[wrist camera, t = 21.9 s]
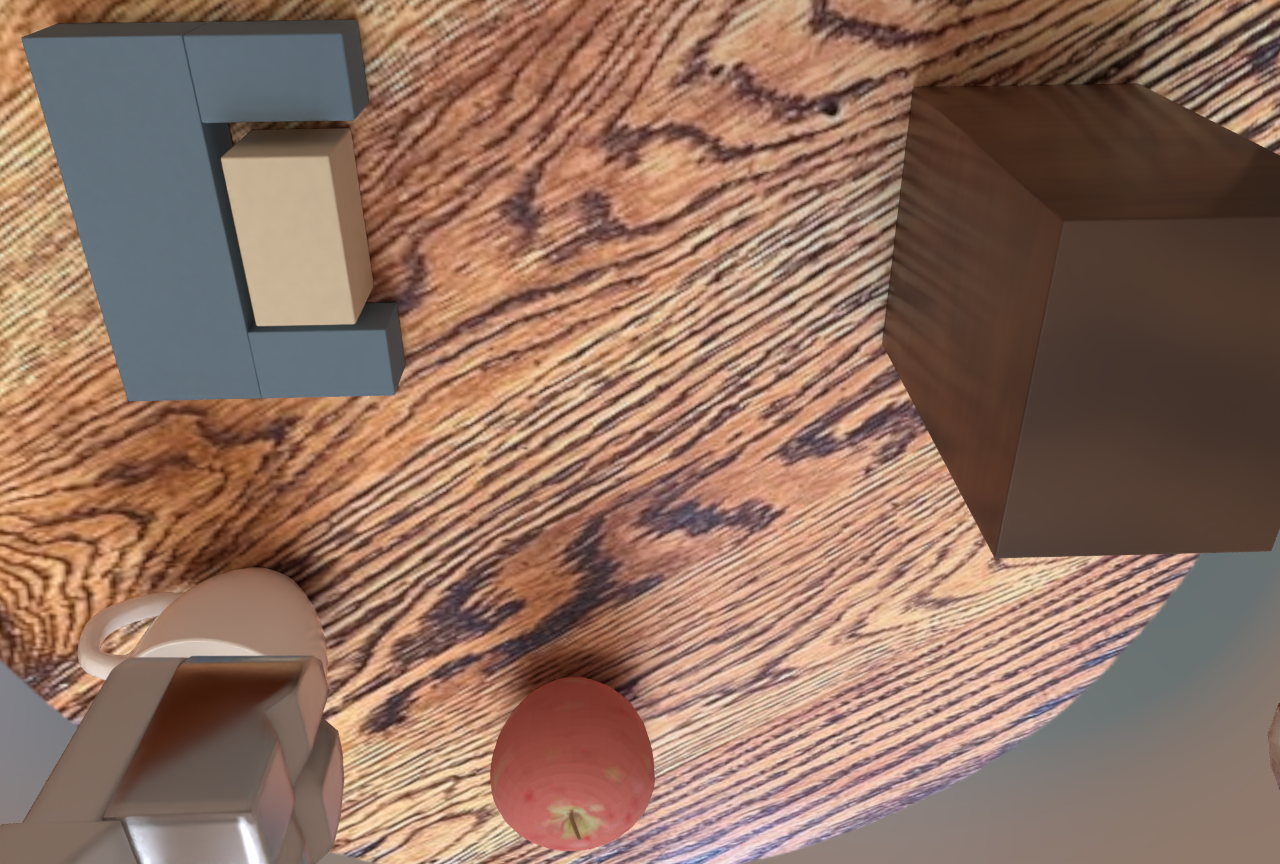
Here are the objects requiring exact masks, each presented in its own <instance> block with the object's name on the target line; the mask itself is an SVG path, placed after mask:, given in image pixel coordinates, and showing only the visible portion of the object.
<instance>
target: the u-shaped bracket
mask: <svg viewBox="0 0 1280 864" xmlns="http://www.w3.org/2000/svg"><path fill="white" fill-rule="evenodd" d="M22 43H23V46H24V49H25V53H26V56H27V60H28V63H29V66H30V70H31V73H32V76H33V80H34V83H35V87H36V90H37V93H38V97H39V100H40V104H41V107H42V110H43V114H44V117H45V121H46V124H47V127H48V131H49V134H50V138H51V141H52V144H53V148H54V151H55V155H56V158H57V161H58V165H59V168H60V172H61V175H62V178H63V182H64V185H65V189H66V192H67V195H68V199H69V202H70V206H71V209H72V212H73V216H74V219H75V223H76V226H77V229H78V233H79V236H80V240H81V243H82V246H83V250H84V253H85V257H86V260H87V263H88V267H89V270H90V274H91V277H92V280H93V284H94V287H95V291H96V294H97V297H98V301H99V304H100V308H101V311H102V314H103V318H104V321H105V325H106V328H107V331H108V335H109V338H110V342H111V345H112V348H113V352H114V355H115V358H116V362H117V365H118V369H119V372H120V375H121V379H122V382H123V386H124V389H125V392H126V396H127V399H128V401H158V400H203V399H249V398H294V397H339V396H385V395H395V393H396V390H397V387H398V384H399V382H400V379H401V376H402V373H403V371H404V368H405V359H404V351H403V344H402V337H401V330H400V322H399V315H398V308H397V303H365V305H364V307H363V309H362V311H361V313H360V315H359V317H358V319H357V321H356V323H355V324H336V325H287V326H257V325H256V322H255V317H254V312H253V308H252V303H251V298H250V294H249V289H248V284H247V280H246V275H245V270H244V266H243V261H242V256H241V252H240V247H239V242H238V237H237V233H236V228H235V223H234V219H233V214H232V209H231V205H230V200H229V195H228V191H227V186H226V181H225V177H224V172H223V167H222V163H221V157H222V156H223V155H224V154H226V153H227V152H228V151H229V150H230V149H231V148H232V147H233V144H232V140H231V135H230V130H229V125H228V123H231V122H292V121H352V120H355V118H356V117H357V116H358V115H359V114H360V112H361V111H362V110H363V109H364V107H365V106H366V105H367V104H368V102H369V99H368V92H367V85H366V77H365V70H364V63H363V56H362V48H361V41H360V34H359V27H358V22H357V20H298V21H229V22H208V23H207V22H150V23H81V24H55V25H53V26H50V27H48V28H45V29H42V30H40V31H37V32H35V33H32V34H29V35H27V36H24V37H22Z"/></svg>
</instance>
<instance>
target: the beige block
mask: <svg viewBox="0 0 1280 864" xmlns="http://www.w3.org/2000/svg"><path fill="white" fill-rule="evenodd" d="M221 163H222V167H223V172H224V177H225V181H226V186H227V191H228V195H229V200H230V205H231V209H232V214H233V219H234V223H235V228H236V233H237V237H238V242H239V247H240V252H241V256H242V261H243V266H244V270H245V275H246V280H247V284H248V289H249V294H250V298H251V303H252V308H253V312H254V317H255V322H256V325H257V326H287V325H336V324H355V323H356V321H357V319H358V317H359V315H360V313H361V311H362V309H363V307H364V305H365V303H366V301H367V299H368V297H369V295H370V293H371V291H372V289H373V286H374V283H373V277H372V270H371V263H370V256H369V250H368V243H367V236H366V229H365V223H364V216H363V209H362V202H361V196H360V189H359V182H358V175H357V169H356V162H355V155H354V148H353V142H352V135H351V130H350V129H349V128H341V129H280V130H251V131H250V132H249V133H248V134H247V135H246V136H245V137H243V138H242V139H241V140H240V141H239V142H238V143H237V144H236V145H234V146H233V147H232V148H231V149H230V150H229V151H228V152H227V153H226V154H224V155H223V156H222V157H221Z"/></svg>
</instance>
